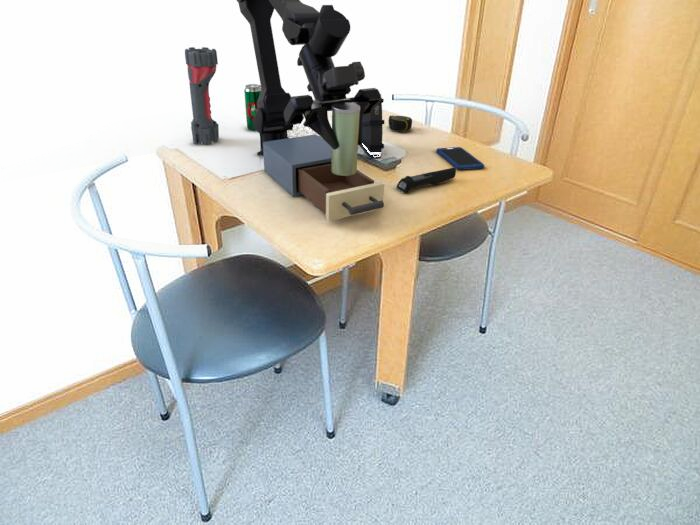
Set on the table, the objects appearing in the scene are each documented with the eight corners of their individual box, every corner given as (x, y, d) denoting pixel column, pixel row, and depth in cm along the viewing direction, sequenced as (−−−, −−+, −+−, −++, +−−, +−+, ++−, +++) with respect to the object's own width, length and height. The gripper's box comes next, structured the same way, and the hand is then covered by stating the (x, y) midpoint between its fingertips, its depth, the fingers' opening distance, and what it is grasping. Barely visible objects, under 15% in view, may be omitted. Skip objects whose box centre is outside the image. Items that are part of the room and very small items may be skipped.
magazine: (372, 157, 120) (368, 94, 118) (359, 161, 132) (354, 104, 130) (387, 156, 121) (383, 93, 118) (372, 160, 133) (368, 104, 131)
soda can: (256, 125, 143) (253, 82, 137) (268, 128, 141) (266, 85, 134) (243, 129, 140) (239, 85, 133) (256, 132, 137) (253, 89, 131)
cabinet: (348, 185, 109) (349, 155, 105) (293, 197, 103) (292, 165, 99) (315, 162, 120) (315, 134, 116) (264, 171, 114) (262, 142, 110)
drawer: (394, 216, 95) (396, 191, 92) (339, 230, 89) (340, 204, 86) (346, 182, 108) (346, 159, 105) (295, 192, 102) (294, 168, 100)
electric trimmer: (458, 182, 113) (460, 169, 111) (405, 194, 106) (407, 181, 104) (447, 177, 116) (449, 164, 114) (395, 188, 108) (396, 175, 107)
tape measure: (410, 127, 147) (411, 114, 145) (411, 134, 141) (413, 121, 139) (388, 126, 147) (388, 113, 145) (388, 133, 141) (389, 120, 139)
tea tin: (325, 172, 94) (326, 107, 87) (338, 164, 98) (340, 100, 91) (349, 178, 92) (352, 111, 85) (361, 169, 96) (365, 105, 89)
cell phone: (460, 149, 131) (460, 146, 131) (485, 168, 120) (485, 165, 120) (435, 150, 130) (435, 148, 129) (458, 170, 118) (458, 167, 118)
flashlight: (228, 136, 134) (219, 46, 121) (221, 146, 127) (210, 52, 115) (200, 135, 134) (188, 45, 121) (191, 144, 127) (178, 50, 115)
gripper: (288, 48, 81) (318, 131, 80) (380, 42, 90) (409, 118, 88) (271, 86, 91) (298, 161, 89) (356, 78, 100) (382, 147, 98)
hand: (348, 146), depth 91 cm, fingers closed on tea tin, 5 cm apart
